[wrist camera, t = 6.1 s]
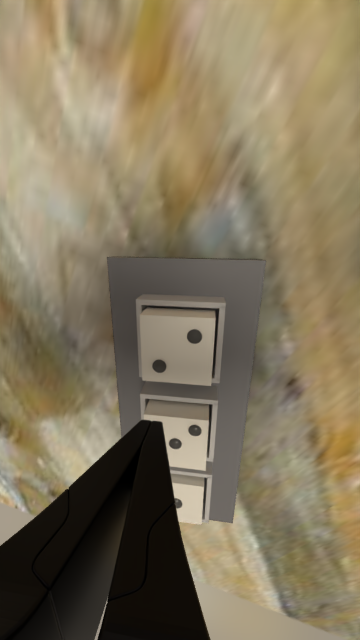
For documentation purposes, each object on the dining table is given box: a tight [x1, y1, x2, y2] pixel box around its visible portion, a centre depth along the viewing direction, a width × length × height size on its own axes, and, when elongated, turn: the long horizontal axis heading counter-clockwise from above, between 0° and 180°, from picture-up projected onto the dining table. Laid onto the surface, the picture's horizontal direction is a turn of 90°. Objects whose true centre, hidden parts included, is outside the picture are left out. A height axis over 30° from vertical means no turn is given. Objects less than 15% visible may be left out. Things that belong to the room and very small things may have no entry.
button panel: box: [107, 257, 266, 523], centre depth 21 cm, size 12×28×4 cm, turn 179°
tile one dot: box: [171, 473, 204, 525], centre depth 22 cm, size 5×5×2 cm
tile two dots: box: [140, 307, 216, 386], centre depth 16 cm, size 5×5×2 cm
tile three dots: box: [144, 399, 209, 471], centre depth 19 cm, size 5×5×2 cm
